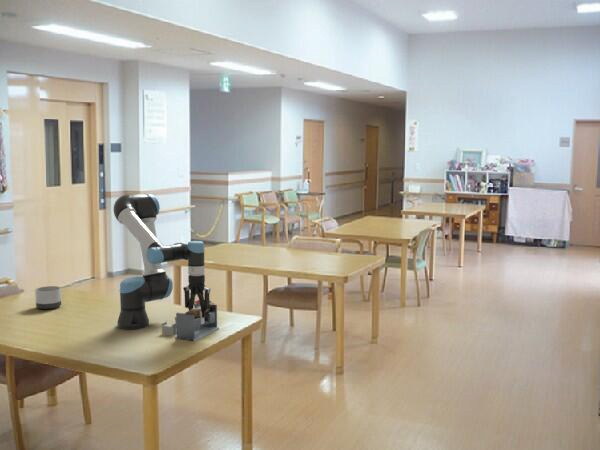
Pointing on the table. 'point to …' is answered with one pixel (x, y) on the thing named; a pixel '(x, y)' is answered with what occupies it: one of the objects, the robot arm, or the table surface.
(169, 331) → the rest blocks
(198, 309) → the brown cylinder
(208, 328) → the wall board
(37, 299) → the planter
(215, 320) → the brackets
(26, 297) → the table surface
